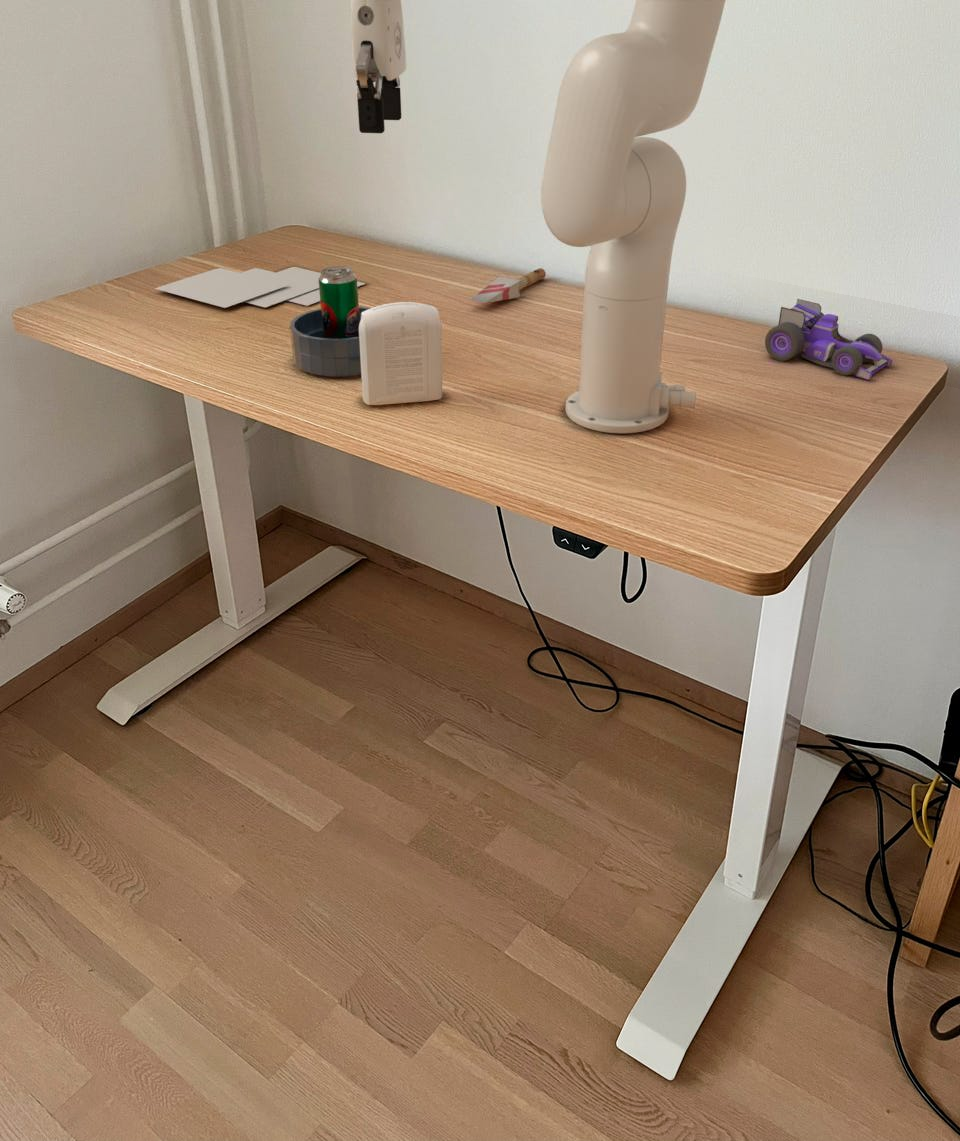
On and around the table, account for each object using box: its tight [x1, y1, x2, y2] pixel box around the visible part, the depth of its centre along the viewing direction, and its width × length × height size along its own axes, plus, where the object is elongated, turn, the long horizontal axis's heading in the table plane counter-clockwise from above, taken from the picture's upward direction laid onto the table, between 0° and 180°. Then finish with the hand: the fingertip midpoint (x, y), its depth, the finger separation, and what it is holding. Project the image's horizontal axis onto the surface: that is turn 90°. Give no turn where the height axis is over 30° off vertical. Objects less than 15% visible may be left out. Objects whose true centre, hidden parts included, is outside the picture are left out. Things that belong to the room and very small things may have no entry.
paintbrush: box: [469, 267, 547, 304], centre depth 164 cm, size 4×3×20 cm
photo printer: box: [359, 301, 443, 406], centre depth 126 cm, size 10×4×12 cm, turn 103°
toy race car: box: [764, 298, 894, 381], centre depth 138 cm, size 10×15×6 cm, turn 48°
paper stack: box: [154, 266, 366, 309], centre depth 167 cm, size 23×25×1 cm
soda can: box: [318, 265, 360, 339], centre depth 137 cm, size 5×5×12 cm
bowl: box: [289, 305, 372, 378], centre depth 139 cm, size 14×14×6 cm
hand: (381, 125), depth 135 cm, fingers open, 9 cm apart
